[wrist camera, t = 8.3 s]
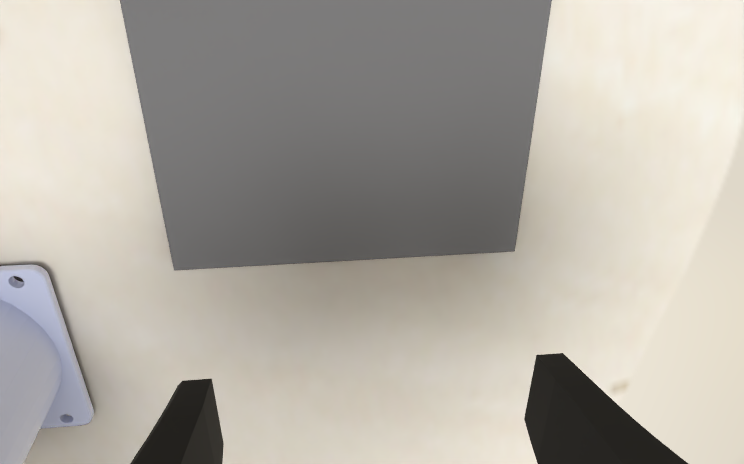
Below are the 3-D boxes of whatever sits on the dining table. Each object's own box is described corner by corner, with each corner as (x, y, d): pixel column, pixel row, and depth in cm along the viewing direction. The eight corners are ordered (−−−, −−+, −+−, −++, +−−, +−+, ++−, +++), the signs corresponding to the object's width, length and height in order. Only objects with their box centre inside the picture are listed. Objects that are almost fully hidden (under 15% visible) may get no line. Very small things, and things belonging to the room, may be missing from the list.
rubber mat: (176, 264, 22) (174, 270, 22) (95, -144, 16) (90, -145, 15) (511, 245, 24) (514, 251, 23) (566, -141, 17) (572, -141, 17)
